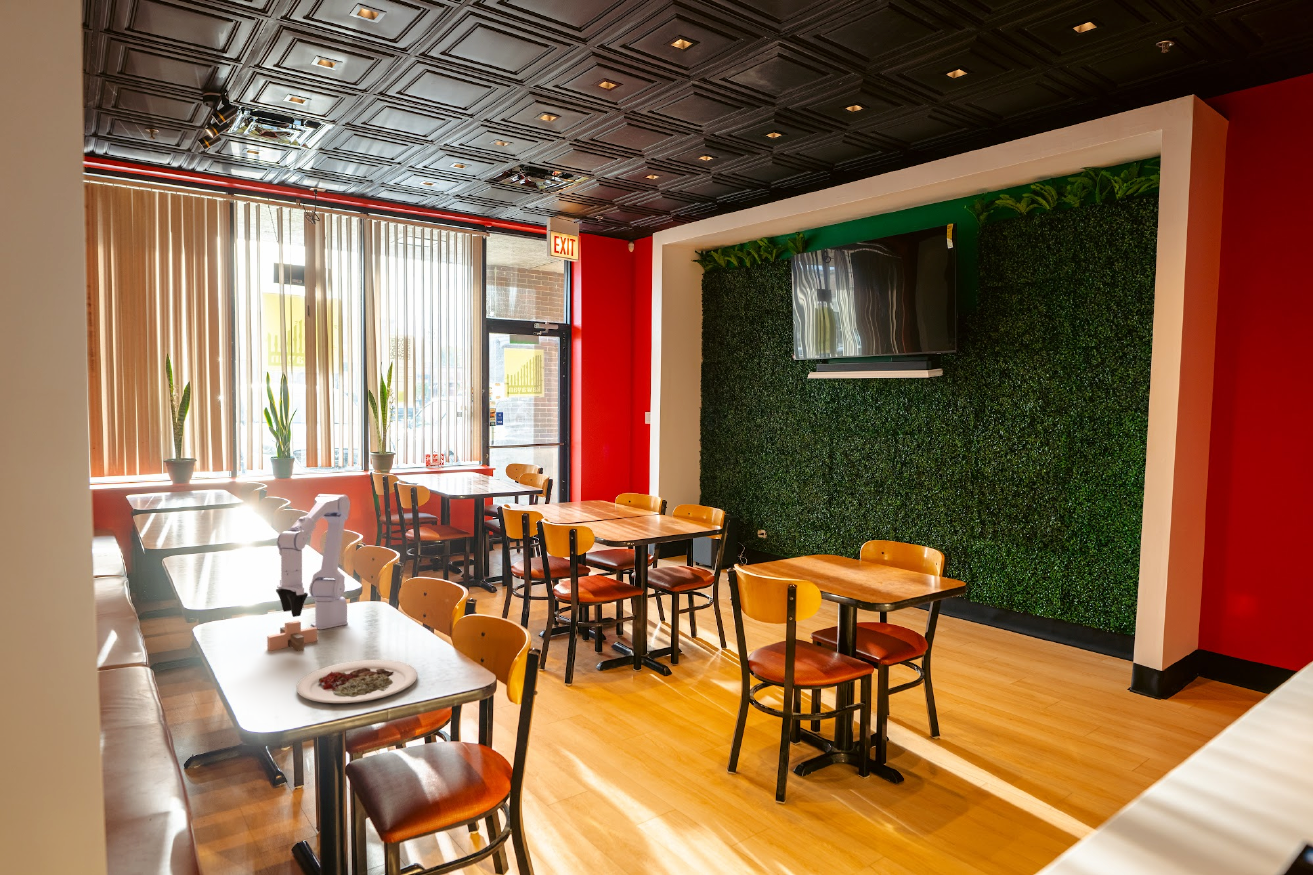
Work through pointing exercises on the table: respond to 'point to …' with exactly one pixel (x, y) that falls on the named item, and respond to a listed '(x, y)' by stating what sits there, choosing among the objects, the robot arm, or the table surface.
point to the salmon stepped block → (290, 628)
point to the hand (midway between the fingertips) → (291, 613)
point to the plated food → (356, 681)
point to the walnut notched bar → (295, 640)
